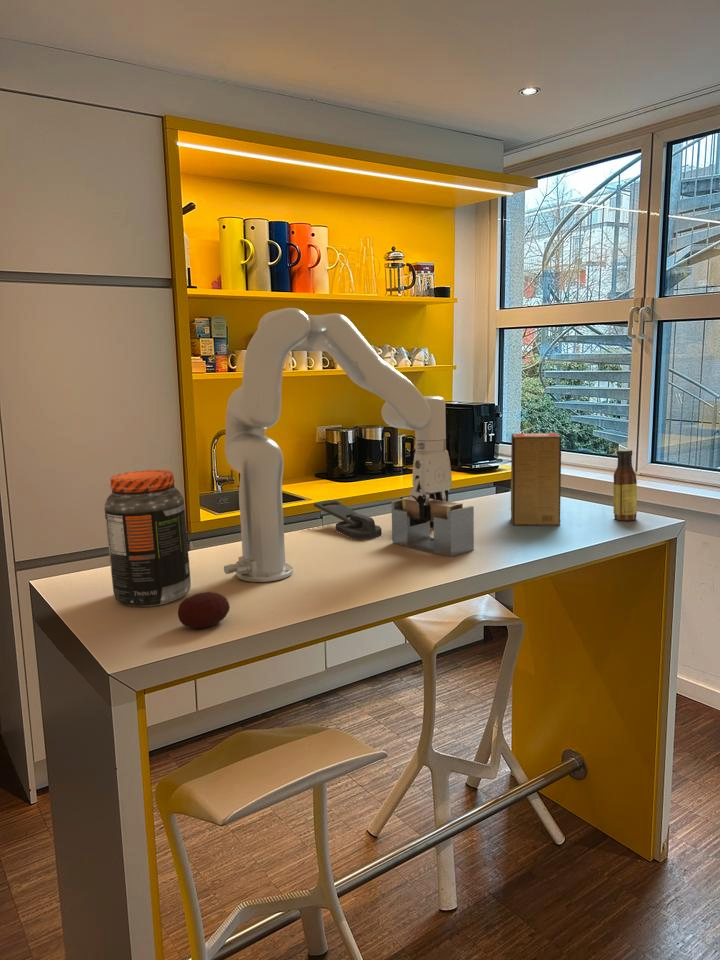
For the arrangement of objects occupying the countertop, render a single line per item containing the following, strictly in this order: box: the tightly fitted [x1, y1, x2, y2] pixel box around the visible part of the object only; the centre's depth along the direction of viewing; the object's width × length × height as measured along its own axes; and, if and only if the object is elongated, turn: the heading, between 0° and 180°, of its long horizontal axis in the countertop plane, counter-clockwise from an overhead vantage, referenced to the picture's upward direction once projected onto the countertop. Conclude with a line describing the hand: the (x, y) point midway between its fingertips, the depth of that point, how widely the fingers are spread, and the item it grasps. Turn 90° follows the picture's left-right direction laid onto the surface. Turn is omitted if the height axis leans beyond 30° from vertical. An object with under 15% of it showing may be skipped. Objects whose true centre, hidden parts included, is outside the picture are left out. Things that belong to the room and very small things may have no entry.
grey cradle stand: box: [390, 498, 475, 558], centre depth 186 cm, size 8×20×11 cm, turn 42°
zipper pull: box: [313, 499, 383, 541], centre depth 206 cm, size 9×7×25 cm
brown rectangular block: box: [401, 495, 464, 522], centre depth 185 cm, size 5×16×5 cm, turn 42°
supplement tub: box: [104, 469, 192, 607], centre depth 152 cm, size 16×16×26 cm
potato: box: [177, 591, 231, 629], centre depth 136 cm, size 7×10×6 cm
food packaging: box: [510, 432, 562, 527], centre depth 207 cm, size 13×9×25 cm
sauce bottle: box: [612, 448, 638, 522], centre depth 208 cm, size 6×6×20 cm
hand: (431, 517), depth 185 cm, fingers closed on brown rectangular block, 4 cm apart
